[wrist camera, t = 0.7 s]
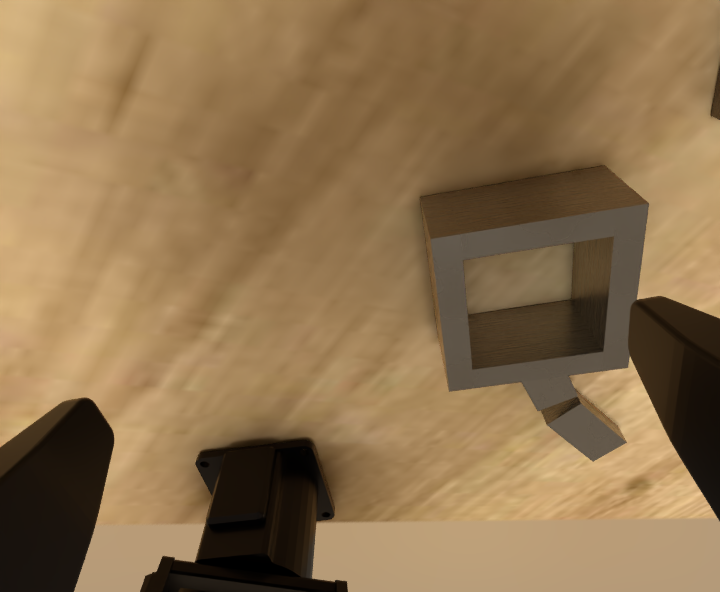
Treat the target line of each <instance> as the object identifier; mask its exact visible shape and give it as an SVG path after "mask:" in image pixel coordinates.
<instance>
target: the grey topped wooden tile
mask: <svg viewBox="0 0 720 592" xmlns="http://www.w3.org/2000/svg"><path fill="white" fill-rule="evenodd" d="M522 384H523V385H524V387H525V389H526V391H527V393H528V394H529V396H530V398H531V400H532V402H533V403H534V405H535V407H536V409H537V411H540V410H542V409H545V408H548V407H550V406H553V405H556V404H558V403H561V402H564V401H566V400H569V399H572V398H574V397H577V396H578V395H577V393H576V391H575V388H574V386H573V384H572V382H571V380H570V378H569V376H562V377H555V378H547V379H540V380H532V381H525V382H522Z"/></svg>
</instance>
